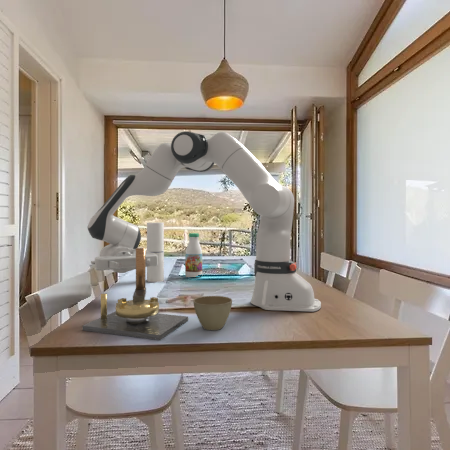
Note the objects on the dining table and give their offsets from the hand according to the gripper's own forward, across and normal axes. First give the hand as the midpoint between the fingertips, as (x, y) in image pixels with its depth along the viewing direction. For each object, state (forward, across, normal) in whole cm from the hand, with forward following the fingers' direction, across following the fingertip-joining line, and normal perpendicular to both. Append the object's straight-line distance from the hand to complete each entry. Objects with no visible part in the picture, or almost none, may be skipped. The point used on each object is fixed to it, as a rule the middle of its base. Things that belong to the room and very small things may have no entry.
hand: (134, 264), depth 114 cm
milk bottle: (-38, +40, +14) cm, 57 cm away
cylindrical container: (-38, +22, +13) cm, 46 cm away
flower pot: (+30, +11, +14) cm, 34 cm away
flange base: (+18, -5, +13) cm, 23 cm away
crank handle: (+14, -3, +10) cm, 18 cm away
